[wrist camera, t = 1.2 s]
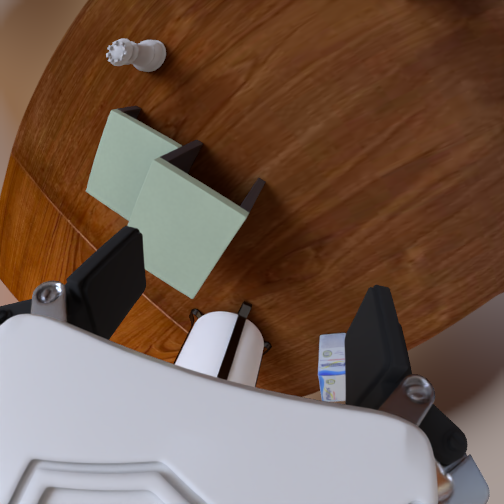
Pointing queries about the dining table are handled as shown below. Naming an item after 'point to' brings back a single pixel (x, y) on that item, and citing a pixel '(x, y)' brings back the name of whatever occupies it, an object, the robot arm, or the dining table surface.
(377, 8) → the dining table surface
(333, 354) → the medicine box
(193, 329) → the coffee press
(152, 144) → the rack
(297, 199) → the dining table surface
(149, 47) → the rook chess piece
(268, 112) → the dining table surface
